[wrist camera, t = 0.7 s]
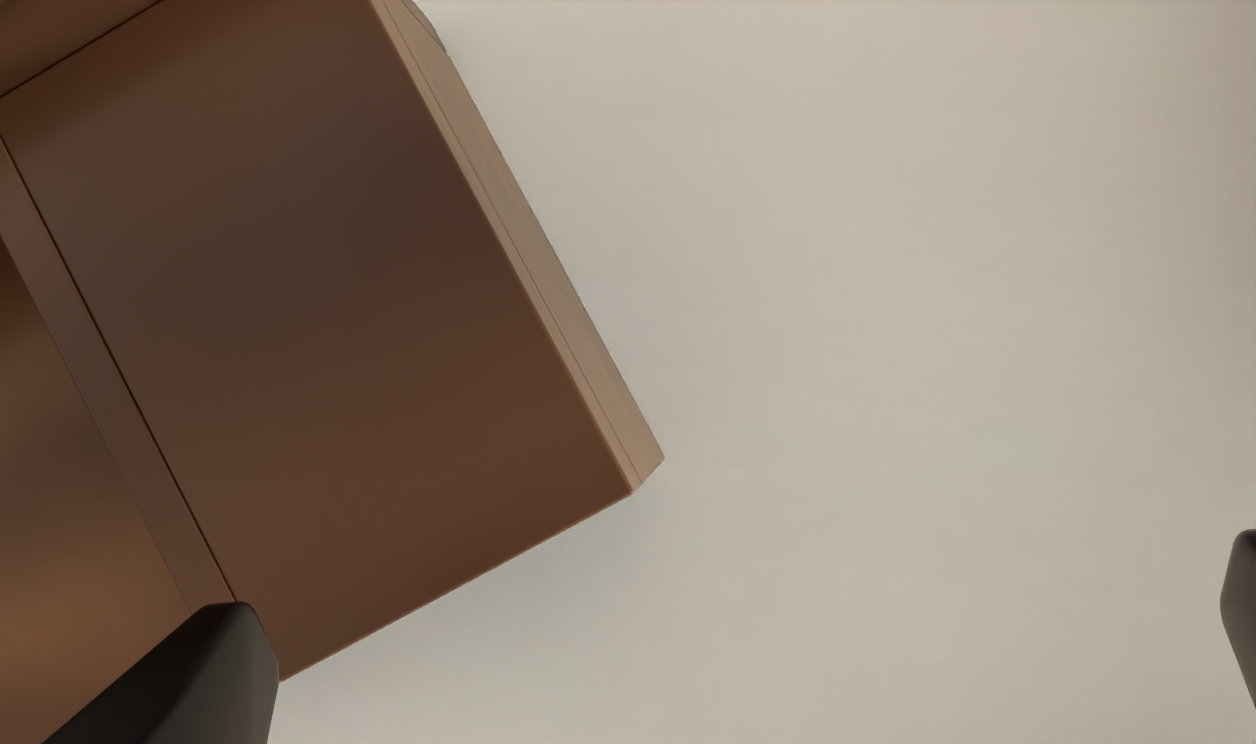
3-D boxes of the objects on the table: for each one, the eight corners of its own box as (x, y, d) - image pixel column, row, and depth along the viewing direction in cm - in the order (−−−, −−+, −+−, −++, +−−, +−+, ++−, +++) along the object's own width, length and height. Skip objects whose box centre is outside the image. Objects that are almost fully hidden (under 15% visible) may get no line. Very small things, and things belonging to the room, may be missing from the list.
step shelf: (666, 458, 25) (622, 508, 15) (47, 790, 26) (-378, 1042, 16) (429, 20, 25) (233, -219, 15) (-159, 366, 27) (-691, 354, 17)
